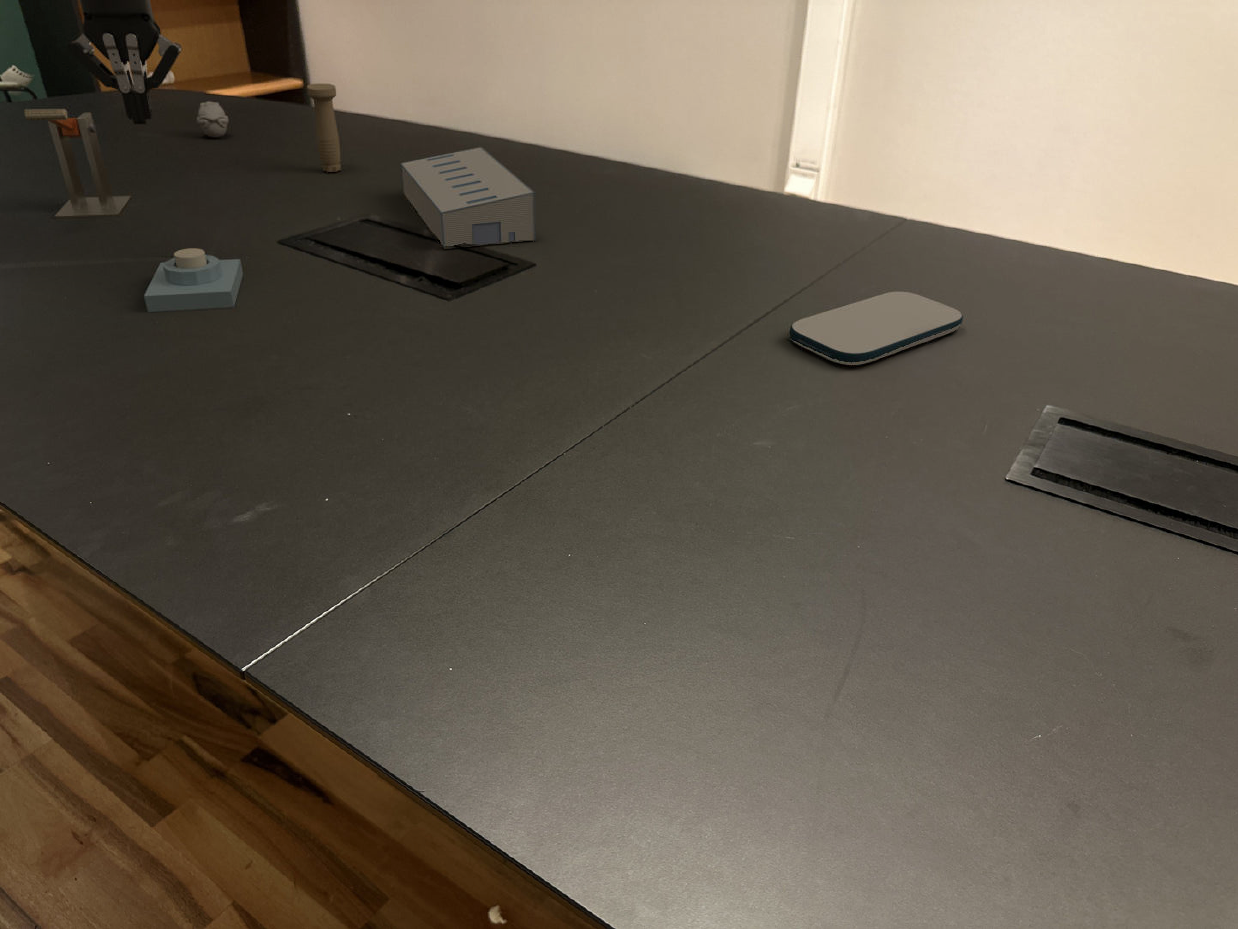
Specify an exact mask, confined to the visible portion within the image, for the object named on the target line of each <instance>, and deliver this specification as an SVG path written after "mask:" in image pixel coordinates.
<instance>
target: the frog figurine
mask: <svg viewBox="0 0 1238 929" xmlns="http://www.w3.org/2000/svg"><path fill="white" fill-rule="evenodd" d="M196 122H197V124H198V126H200V128H201V130H202V132H203V133H204V134H205V135H206V136H208V137H210V138H213V139H218V138H221V137H223V136H224V135H225V134H226V133H227V129H228V126H227V125H228V124H229V117H228V116H227V115H226V113H225V110H224V109H223V107H222V106H221V105H220V103H219V102H216V101H214V102H213V101H212V100H210V101H205V102H201V103H200V104H199V108H198V111H197V117H196Z"/></svg>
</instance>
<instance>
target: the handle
mask: <svg viewBox="0 0 1238 929" xmlns="http://www.w3.org/2000/svg"><path fill="white" fill-rule="evenodd" d="M306 90H307V96H308V97H309V98H311V99H312V100H313V107H314V108H313V109H314V116H315V117H314V118H315V129H316V130H315V131H316V140H317V147H318V153H319V157H320V162H321V163H322V164H321V167H322V171H323V172H324V171H326V172H325V173H328V172H337V171H339V170H340V171H342V163H341V147H340V137H339V133H338V127H337V121H336V116H335V109H334V103H333V100H334V98H335V97H337V89H336V86H335V85H334V84H332V83H311V84H307V86H306ZM340 171H339V172H340ZM337 173H338V172H337Z"/></svg>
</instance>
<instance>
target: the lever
mask: <svg viewBox="0 0 1238 929" xmlns="http://www.w3.org/2000/svg"><path fill="white" fill-rule="evenodd" d="M23 112H24V117H25V119H26V120H27V121H47V122H48V121H49V122H51V123H53V124H55V125H58V126H60V127H62V132H63V135H64V136H67V137H69V139H82V136H81V132H80V129H79V125H78V121H77V118H78V117H69V116H68V111H67V110H66V108H25V109H24V111H23Z"/></svg>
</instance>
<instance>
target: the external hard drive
mask: <svg viewBox="0 0 1238 929" xmlns="http://www.w3.org/2000/svg"><path fill="white" fill-rule="evenodd" d="M963 320H964V316H963V313H962V312H961V311H960V310H958V309H956V308H954V307H952V306H949V305H947V304H944V303H941V302H939V301H936V300H934V299H931V298H928V297H926V296H923V295H920V294H917V293H913V292H909V291H898V290H897V291H889V292H884V293H880V294H878V295H874V296H871V297H868V298H865V299H861V300H858V301H855V302H852V303H849V304H844V305H842V306H839V307H835V308H832V309H829V310H825V311H823V312H820V313H816V314H812V315H809V316H806V317H803V318H800V319H798V320H796V321H794V322H793V323H792V324H791V326H790V327H789V332H788V333H789V334H788V335H790V337H789V339H790V338H791V339H792V340H793V341H796V342H798V343H800V344H802V345H803V346H806V347H809V348H811V349H813V350H814V351H817V352H819V353H822V354H824V355H826V356H828V357H830V358H832V359H837V360H839V361H844V362H851V363H852V362H860V361H866V360H869V359H874V358H876V357H879V356H881V355H883V354H885V353H889V352H891V351H893V350H896V349H898V348H900V347H904V346H906V345H909V344H911V343H913V342H916V341H919V340H922V339H924V338H927V337H930V336H932V335H936V334H938V333H941V332H943V331H946V330H949V329H952V328H954V327H956V326H958V325H959V324H961V323H962V324H963ZM962 324H961V325H962ZM796 331H797V332H796Z"/></svg>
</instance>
